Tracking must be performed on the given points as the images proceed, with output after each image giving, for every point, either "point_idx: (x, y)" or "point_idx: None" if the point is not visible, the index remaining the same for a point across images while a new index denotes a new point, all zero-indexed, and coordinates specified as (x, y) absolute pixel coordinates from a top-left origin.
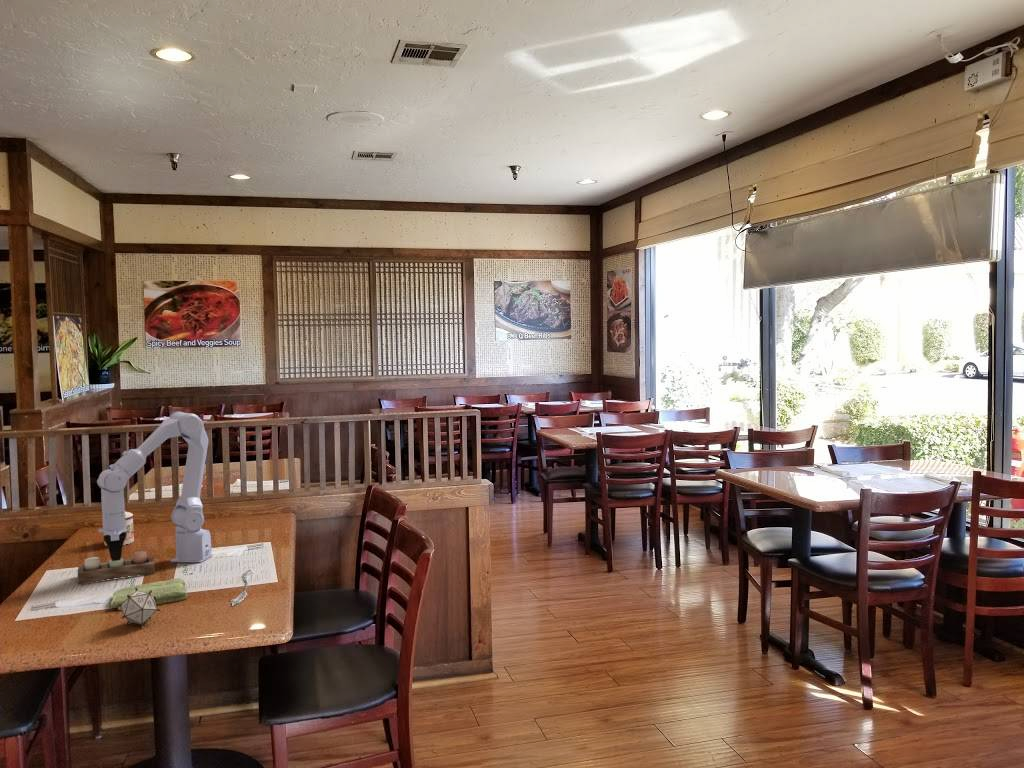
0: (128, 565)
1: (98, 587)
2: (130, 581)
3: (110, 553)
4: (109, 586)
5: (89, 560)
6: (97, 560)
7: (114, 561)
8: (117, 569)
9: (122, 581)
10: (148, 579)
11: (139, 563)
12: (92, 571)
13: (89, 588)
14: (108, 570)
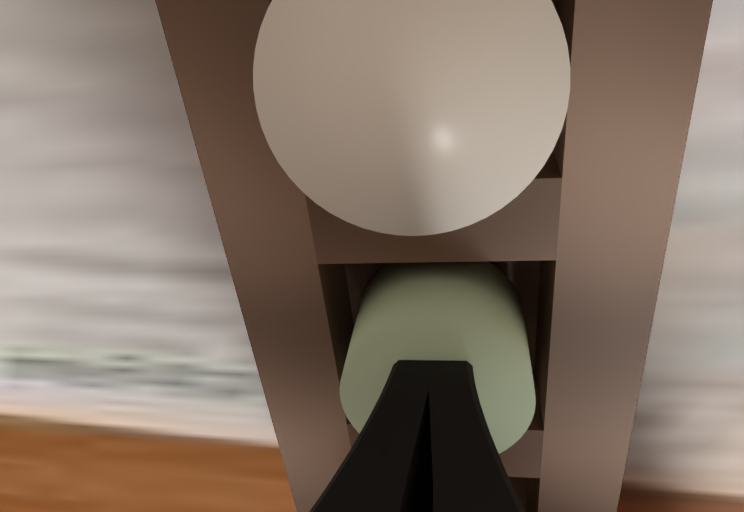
0: (328, 446)
1: (34, 115)
2: (176, 363)
3: (352, 451)
4: (56, 215)
5: (291, 58)
6: (330, 199)
7: (350, 383)
8: (257, 347)
9: (193, 312)
10: (197, 460)
11: (531, 491)
12: (185, 74)
13: (5, 18)
14: (233, 266)
